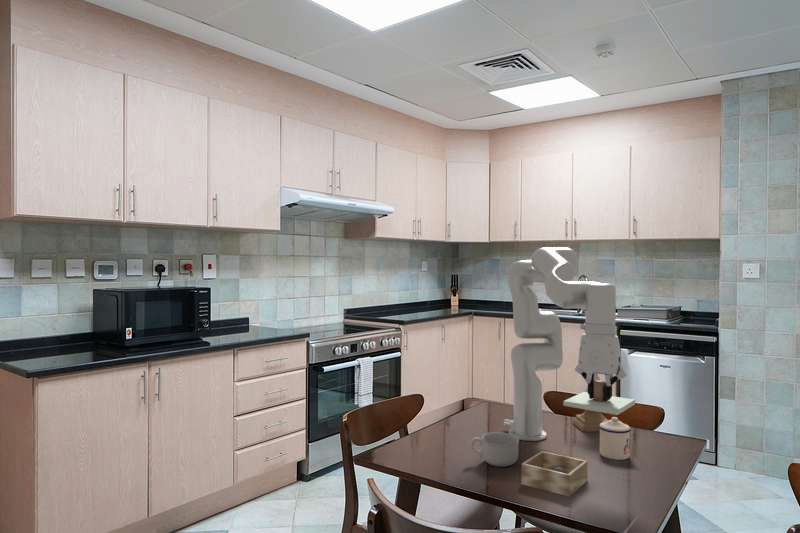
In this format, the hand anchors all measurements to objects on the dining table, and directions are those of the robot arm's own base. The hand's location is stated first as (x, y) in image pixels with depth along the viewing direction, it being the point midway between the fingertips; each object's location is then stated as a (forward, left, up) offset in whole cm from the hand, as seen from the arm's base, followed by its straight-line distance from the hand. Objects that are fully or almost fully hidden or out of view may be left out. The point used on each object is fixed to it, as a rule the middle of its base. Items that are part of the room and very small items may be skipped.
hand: (599, 398), depth 148 cm
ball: (-9, -4, -23) cm, 25 cm away
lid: (0, 0, -2) cm, 2 cm away
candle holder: (-19, +52, -24) cm, 60 cm away
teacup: (-29, -3, -24) cm, 38 cm away
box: (-9, -7, -23) cm, 26 cm away
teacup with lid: (-4, +28, -24) cm, 37 cm away
